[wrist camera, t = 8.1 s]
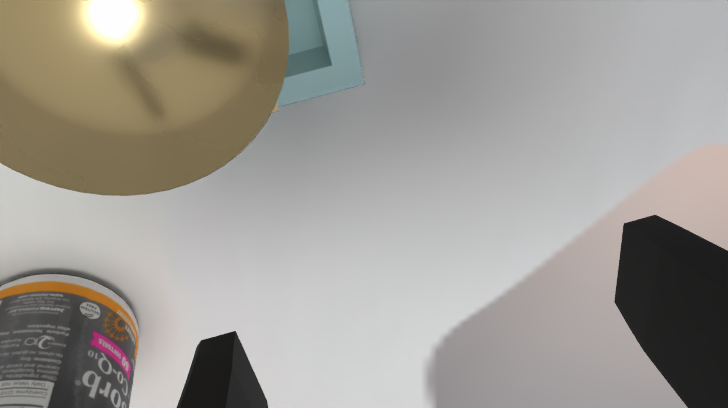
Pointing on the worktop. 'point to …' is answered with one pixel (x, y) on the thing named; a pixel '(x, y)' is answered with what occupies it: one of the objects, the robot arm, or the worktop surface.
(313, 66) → the tray
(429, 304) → the worktop surface
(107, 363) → the pill bottle
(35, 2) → the brass pin
